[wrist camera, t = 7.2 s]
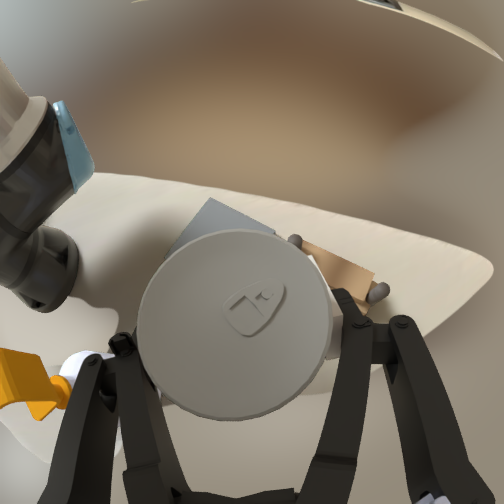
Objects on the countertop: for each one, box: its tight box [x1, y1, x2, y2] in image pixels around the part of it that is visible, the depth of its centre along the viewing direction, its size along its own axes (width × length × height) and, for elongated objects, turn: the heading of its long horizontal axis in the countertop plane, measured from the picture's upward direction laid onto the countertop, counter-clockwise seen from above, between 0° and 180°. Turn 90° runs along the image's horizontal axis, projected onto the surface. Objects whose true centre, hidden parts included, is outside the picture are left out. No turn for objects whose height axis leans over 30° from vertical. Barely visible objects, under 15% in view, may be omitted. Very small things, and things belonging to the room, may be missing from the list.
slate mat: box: [164, 197, 275, 260], centre depth 37 cm, size 11×11×1 cm
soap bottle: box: [0, 348, 161, 428], centre depth 20 cm, size 9×9×25 cm
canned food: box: [136, 228, 333, 421], centre depth 15 cm, size 8×8×11 cm
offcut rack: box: [288, 234, 390, 316], centre depth 31 cm, size 12×5×7 cm, turn 57°
